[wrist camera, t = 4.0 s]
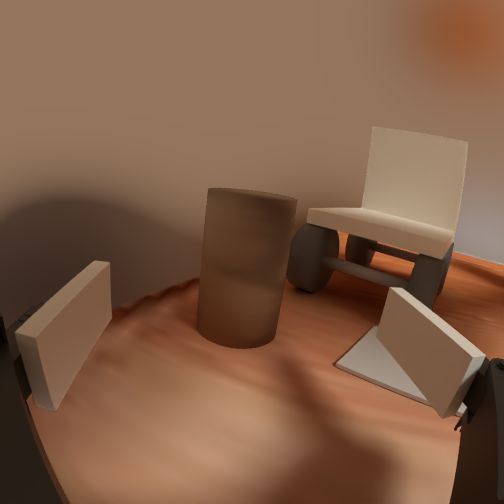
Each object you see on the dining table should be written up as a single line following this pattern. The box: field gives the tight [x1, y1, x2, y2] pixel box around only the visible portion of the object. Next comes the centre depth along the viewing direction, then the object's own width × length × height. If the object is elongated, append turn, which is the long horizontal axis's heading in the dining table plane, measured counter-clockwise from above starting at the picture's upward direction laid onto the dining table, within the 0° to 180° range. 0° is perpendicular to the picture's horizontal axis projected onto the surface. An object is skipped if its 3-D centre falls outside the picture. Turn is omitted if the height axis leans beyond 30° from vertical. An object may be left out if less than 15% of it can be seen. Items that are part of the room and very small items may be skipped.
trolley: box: [286, 127, 468, 311], centre depth 33 cm, size 22×14×20 cm, turn 140°
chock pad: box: [335, 325, 467, 417], centre depth 20 cm, size 8×10×1 cm
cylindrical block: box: [197, 188, 297, 349], centre depth 22 cm, size 6×6×10 cm
